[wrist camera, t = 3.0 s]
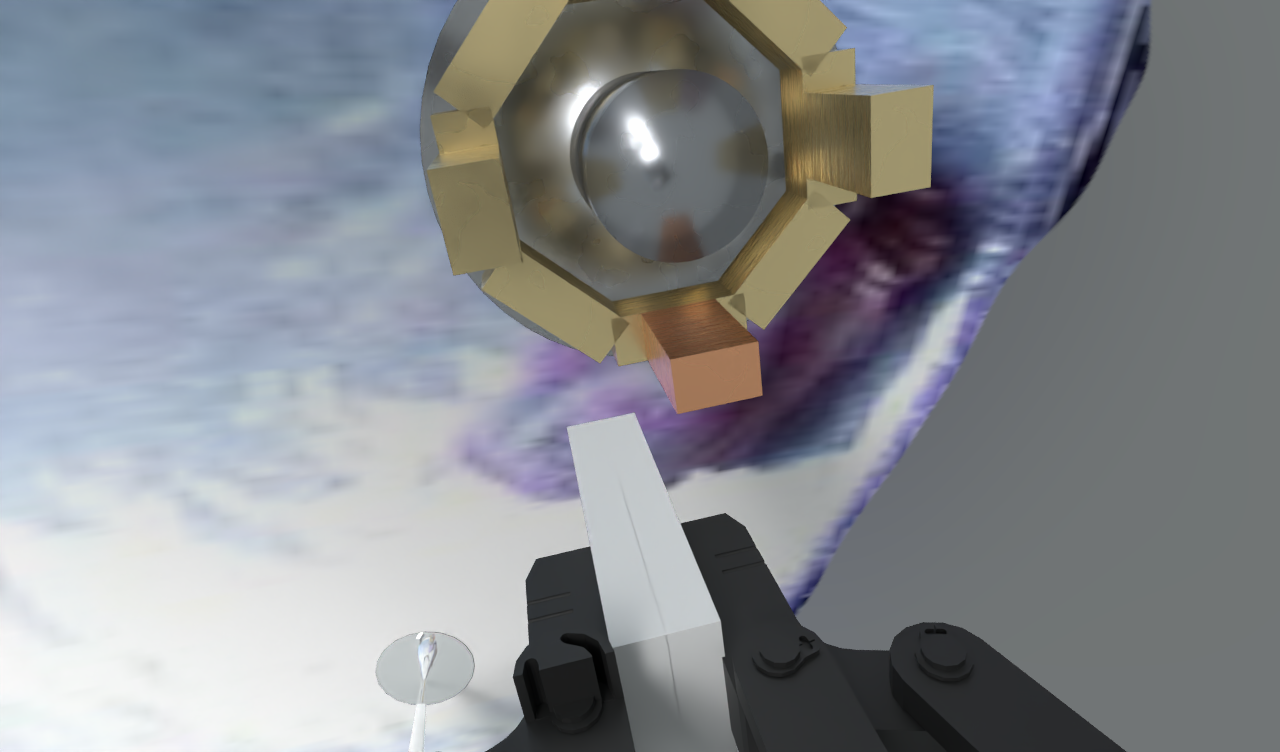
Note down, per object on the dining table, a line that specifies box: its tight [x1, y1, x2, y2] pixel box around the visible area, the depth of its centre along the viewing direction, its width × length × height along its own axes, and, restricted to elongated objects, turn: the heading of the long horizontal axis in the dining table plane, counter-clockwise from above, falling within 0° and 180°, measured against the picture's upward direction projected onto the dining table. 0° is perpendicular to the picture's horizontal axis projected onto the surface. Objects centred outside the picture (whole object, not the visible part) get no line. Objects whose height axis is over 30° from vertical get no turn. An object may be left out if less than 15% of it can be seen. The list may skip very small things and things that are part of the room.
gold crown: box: [426, 0, 933, 414], centre depth 24 cm, size 15×15×7 cm
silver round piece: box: [420, 0, 837, 356], centre depth 26 cm, size 17×17×7 cm
